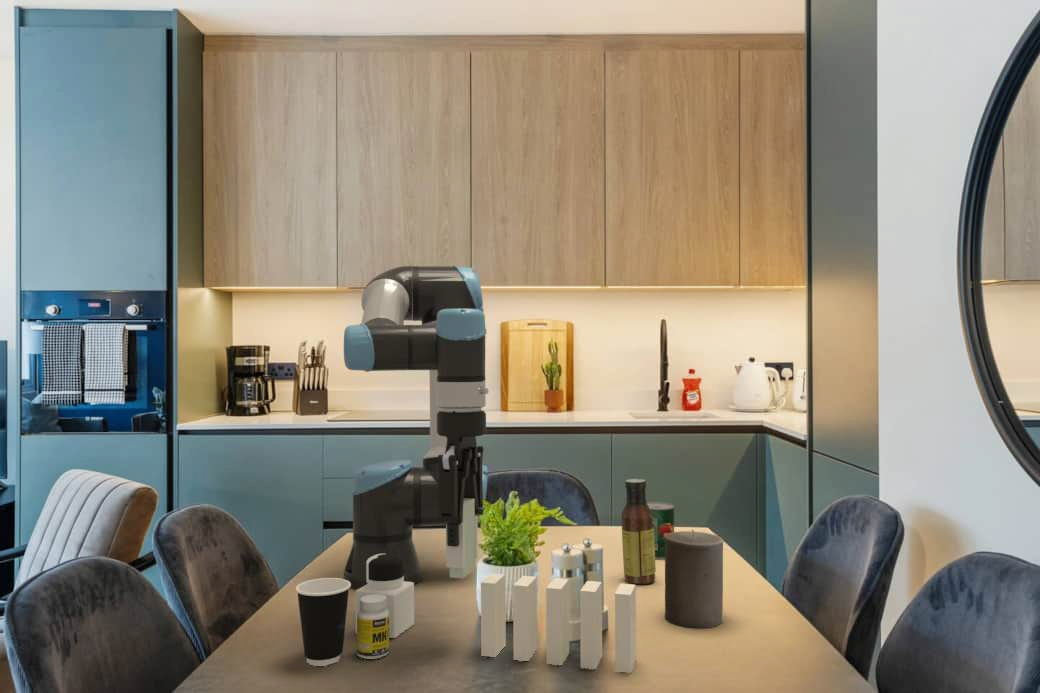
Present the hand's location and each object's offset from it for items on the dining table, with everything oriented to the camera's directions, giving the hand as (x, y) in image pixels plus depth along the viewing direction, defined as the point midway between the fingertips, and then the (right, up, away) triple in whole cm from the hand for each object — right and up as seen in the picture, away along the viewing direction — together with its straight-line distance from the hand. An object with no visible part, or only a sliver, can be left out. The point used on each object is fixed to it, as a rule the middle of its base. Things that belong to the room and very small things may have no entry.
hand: (462, 561), depth 118 cm
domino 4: (+19, -13, -6) cm, 24 cm away
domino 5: (+24, -13, -7) cm, 28 cm away
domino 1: (+5, -13, -1) cm, 14 cm away
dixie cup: (-20, -13, -4) cm, 25 cm away
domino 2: (+10, -13, -3) cm, 16 cm away
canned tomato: (+39, -14, +54) cm, 68 cm away
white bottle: (-13, -14, +8) cm, 21 cm away
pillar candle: (+38, -13, +13) cm, 42 cm away
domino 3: (+14, -13, -4) cm, 20 cm away
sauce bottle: (+32, -14, +34) cm, 49 cm away
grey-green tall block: (0, -2, 0) cm, 2 cm away
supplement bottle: (-13, -13, -2) cm, 19 cm away
